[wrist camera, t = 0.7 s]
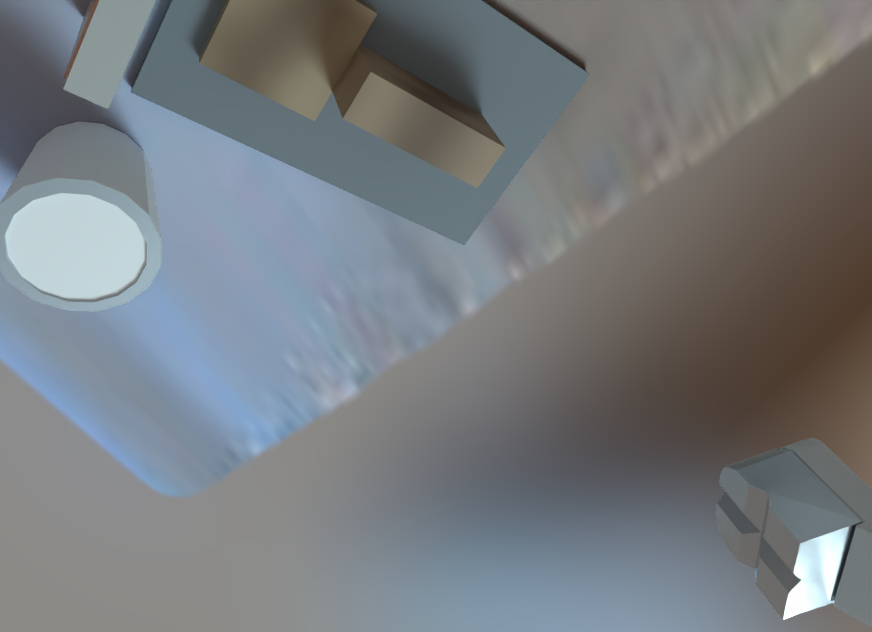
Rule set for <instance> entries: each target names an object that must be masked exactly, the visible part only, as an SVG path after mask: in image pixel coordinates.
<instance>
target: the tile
mask: <svg viewBox="0 0 872 632" xmlns="http://www.w3.org/2000/svg"><path fill="white" fill-rule="evenodd" d="M155 2H156V0H90V3H89V5H88V8H87V10H86V13H85V15H84V18H83V21H82V24H81V28H80V31H79V34H78V37H77V40H76V43H75V46H74V49H73V52H72V55H71V58H70V61H69V64H68V67H67V70H66V73H65V77H64V78H66V82H65V85H64V88H63V89H64V90H66V91H68V92H70V93H73V94H75V95H77V96H79V97H82V98H84V99H86V100H88V101H91V102H93V103H95V104H97V105H100V106H102V107H104V108H107V109H108V108H109V106H110V104H111V101H112V99H113V97H114V95H115V92H116V90H117V88H118V86H119V83H120V81H121V79H122V76H123V74H124V72H125V70H126V67H127V65H128V63H129V61H130V58H131V56H132V54H133V51H134V49H135V47H136V45H137V42H138V40H139V38H140V36H141V33H142V31H143V29H144V27H145V24H146V22H147V20H148V17H149V15H150V13H151V11H152V8H153V6H154V4H155Z"/></svg>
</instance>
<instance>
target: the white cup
mask: <svg viewBox="0 0 872 632" xmlns="http://www.w3.org/2000/svg"><path fill="white" fill-rule="evenodd" d="M161 247H162V240H161V232H160V225H159V217H158V210H157V203H156V195H155V188H154V181H153V173H152V168H151V166H150V164H149V162H148V160H147V158H146V155H145V153H144V151H143V150H142V149H141V148H140V147H139V146H138V145H137V144H136V143H135V142H134V141H133V140H132V139H131V138H130V137H129V136H128V135H127V134H125V133H122V132H120V131H118V130H116V129H114V128H111V127H109V126H107V125H105V124H100V123H90V122H81V121H78V122H74V123H70V124H66V125H62V126H58V127H55V128H54V129H52V130H51V131H50V132H49V133H47V134H46V135H45V136H43V137H42V138H41V139H40V140H38V142H37V143H36V145H35V147H34V148H33V150H32V152H31V153H30V155H29V157H28V158H27V160H26V162H25V163H24V165H23V166H22V168H21V170H20V171H19V173H18V175H17V176H16V178H15V180H14V181H13V183H12V185H11V186H10V188H9V189H8V191H7V193H6V194H5V196H4V198H3V199H2V201H1V203H0V271H1V273H2V274H3V276H4V277H5V279H6V280H7V282H8V283H10V284H11V285H13V286H14V287H15V288H17V289H18V290H20V291H21V292H23V293H24V294H25V295H27V296H28V297H30V298H31V299H33V300H34V301H37V302H40V303H43V304H46V305H50V306H53V307H56V308H59V309H62V310H65V311H101V310H105V309H108V308H112V307H115V306H119V305H123V304H126V303H128V302H129V301H131V300H132V299H133V298H135V297H136V296H138V295H139V294H140V293H142V292H143V291H145V290H146V289H147V288H149V286H150V284H151V283H152V281H153V279H154V277H155V276H156V274H157V272H158V270H159V269H160V267H161Z"/></svg>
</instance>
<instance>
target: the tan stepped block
mask: <svg viewBox="0 0 872 632" xmlns="http://www.w3.org/2000/svg"><path fill="white" fill-rule="evenodd" d="M376 15H377V13H376V11H375V10H374V8H372V7H370V6H369V5H367V4H366V3H364V2H362V1H361V0H226V2H225V5H224V7H223V9H222V11H221V13H220V15H219V17H218V19H217V21H216V23H215V25H214V27H213V29H212V31H211V34H210V36H209V38H208V40H207V42H206V44H205V46H204V48H203V50H202V52H201V54H200V56H199V64H201V65H203V66H205V67H207V68H209V69H211V70H213V71H215V72H217V73H219V74H221V75H223V76H225V77H227V78H229V79H231V80H233V81H235V82H237V83H239V84H241V85H243V86H245V87H247V88H249V89H251V90H253V91H255V92H257V93H259V94H261V95H263V96H265V97H267V98H269V99H271V100H273V101H275V102H277V103H279V104H281V105H283V106H285V107H287V108H289V109H291V110H293V111H295V112H297V113H299V114H301V115H303V116H305V117H307V118H309V119H311V120H313V121H316V119H317V117H318V115H319V114H320V112H321V110H322V109H323V107H324V105H325V103H326V102H327V100H328V98H329V96H330V95H331V93H332V92H333V95H334V97H335V100H336V103H337V105H338V108H339V111H340V113H341V116H342V119H344V120H346V121H348V122H350V123H352V124H354V125H356V126H357V127H359V128H361V129H363V130H365V131H367V132H369V133H371V134H373V135H375V136H377V137H379V138H381V139H383V140H385V141H387V142H389V143H390V144H392V145H394V146H396V147H398V148H400V149H402V150H404V151H406V152H408V153H410V154H412V155H414V156H416V157H418V158H420V159H422V160H424V161H425V162H427V163H429V164H431V165H433V166H435V167H437V168H439V169H441V170H443V171H445V172H447V173H449V174H451V175H453V176H455V177H457V178H458V179H460V180H462V181H464V182H466V183H468V184H470V185H472V186H474V187H476V188H478V187H479V185H480V184H481V183H482V181H483V180H484V178H485V177H486V176H487V174H488V173H489V172H490V170H491V169H492V167H493V166H494V165H495V163H496V162H497V160H498V159H499V158H500V156H501V155H502V153H503V152H504V151H505V149H506V147H505V146H504V145H503V143H502V142H501V140H500V139H499V138H498V136H497V135H496V133H495V132H494V131H493V129H492V128H491V126H490V125H489V124H488V122H487V121H486V119H485V118H484V117H483V115H481V114H480V113H478V112H476V111H474V110H473V109H471V108H469V107H468V106H466V105H464V104H462V103H461V102H459V101H457V100H456V99H454V98H452V97H450V96H449V95H447V94H445V93H444V92H442V91H440V90H438V89H437V88H435V87H433V86H432V85H430V84H428V83H426V82H425V81H423V80H421V79H419V78H418V77H416V76H414V75H413V74H411V73H409V72H407V71H406V70H404V69H402V68H401V67H399V66H397V65H395V64H394V63H392V62H390V61H389V60H387V59H385V58H383V57H382V56H380V55H378V54H377V53H375V52H373V51H371V50H370V49H368V48H366V47H365V46H363V45H361V44H360V43H361V41H362V39H363V38H364V36H365V34H366V32H367V31H368V29H369V27H370V26H371V24H372V22H373V20H374V19H375V17H376Z"/></svg>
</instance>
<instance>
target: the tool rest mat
mask: <svg viewBox="0 0 872 632" xmlns="http://www.w3.org/2000/svg"><path fill="white" fill-rule="evenodd" d="M361 1H362V2H364V3H366V4H367V5H369V6H370V7H372V8H374V10H375V11H376V13H377V15H376V17H375V19H374V20H373V22H372V24H371V26H370V27H369V29H368V31H367V32H366V34H365V36H364V38H363V39H362V41H361V43H360V44H361V45H363V46H365V47H366V48H368V49H370V50H371V51H373V52H375V53H377V54H378V55H380V56H382V57H383V58H385V59H387V60H389V61H390V62H392V63H394V64H395V65H397V66H399V67H401V68H402V69H404V70H406V71H407V72H409V73H411V74H413V75H414V76H416V77H418V78H419V79H421V80H423V81H425V82H426V83H428V84H430V85H432V86H433V87H435V88H437V89H438V90H440V91H442V92H444V93H445V94H447V95H449V96H450V97H452V98H454V99H456V100H457V101H459V102H461V103H462V104H464V105H466V106H468V107H469V108H471V109H473V110H474V111H476V112H478V113H480V114H481V115H483V117H484V118H485V119H486V121H487V122H488V124H489V125H490V126H491V128H492V129H493V131H494V132H495V133H496V135H497V136H498V138H499V139H500V140H501V142H502V143H503V145H504V146H505V147H506V149H505V151H504V152H503V153H502V155H501V156H500V158H499V159H498V160H497V162H496V163H495V165H494V166H493V167H492V169H491V170H490V172H489V173H488V174H487V176H486V177H485V178H484V180H483V181H482V183H481V184H480V185H479V187H478V188H476V187H474V186H472V185H470V184H468V183H466V182H464V181H462V180H460V179H458V178H457V177H455V176H453V175H451V174H449V173H447V172H445V171H443V170H441V169H439V168H437V167H435V166H433V165H431V164H429V163H427V162H425V161H424V160H422V159H420V158H418V157H416V156H414V155H412V154H410V153H408V152H406V151H404V150H402V149H400V148H398V147H396V146H394V145H392V144H390V143H389V142H387V141H385V140H383V139H381V138H379V137H377V136H375V135H373V134H371V133H369V132H367V131H365V130H363V129H361V128H359V127H357V126H356V125H354V124H352V123H350V122H348V121H346V120H344V119H342V116H341V113H340V111H339V108H338V105H337V103H336V100H335V97H334V95H333V92H332V93H331V95H330V96H329V98H328V100H327V102H326V103H325V105H324V107H323V109H322V110H321V112H320V114H319V115H318V117H317V119H316V121H313V120H311V119H309V118H307V117H305V116H303V115H301V114H299V113H297V112H295V111H293V110H291V109H289V108H287V107H285V106H283V105H281V104H279V103H277V102H275V101H273V100H271V99H269V98H267V97H265V96H263V95H261V94H259V93H257V92H255V91H253V90H251V89H249V88H247V87H245V86H243V85H241V84H239V83H237V82H235V81H233V80H231V79H229V78H227V77H225V76H223V75H221V74H219V73H217V72H215V71H213V70H211V69H209V68H207V67H205V66H203V65H201V64H199V56H200V54H201V52H202V50H203V48H204V46H205V44H206V42H207V40H208V38H209V36H210V34H211V31H212V29H213V27H214V25H215V23H216V21H217V19H218V17H219V15H220V13H221V11H222V9H223V7H224V5H225V2H226V0H171V2H170V4H169V6H168V8H167V10H166V13H165V15H164V17H163V19H162V22H161V24H160V26H159V28H158V30H157V33H156V35H155V37H154V39H153V42H152V44H151V46H150V48H149V50H148V53H147V55H146V57H145V59H144V62H143V64H142V66H141V68H140V70H139V73H138V75H137V77H136V79H135V82H134V84H133V86H132V89H131V93H134V94H136V95H138V96H140V97H142V98H145V99H147V100H149V101H151V102H153V103H155V104H158V105H160V106H162V107H164V108H166V109H169V110H171V111H173V112H175V113H177V114H179V115H182V116H184V117H186V118H188V119H190V120H193V121H195V122H197V123H199V124H201V125H203V126H206V127H208V128H210V129H212V130H214V131H216V132H219V133H221V134H223V135H225V136H227V137H230V138H232V139H234V140H236V141H238V142H240V143H243V144H245V145H247V146H249V147H251V148H254V149H256V150H258V151H260V152H262V153H264V154H267V155H269V156H271V157H273V158H275V159H278V160H280V161H282V162H284V163H286V164H288V165H291V166H293V167H295V168H297V169H299V170H301V171H304V172H306V173H308V174H310V175H312V176H315V177H317V178H319V179H321V180H323V181H325V182H328V183H330V184H332V185H334V186H336V187H339V188H341V189H343V190H345V191H347V192H349V193H352V194H354V195H356V196H358V197H360V198H363V199H365V200H367V201H369V202H371V203H373V204H376V205H378V206H380V207H382V208H384V209H387V210H389V211H391V212H393V213H395V214H397V215H400V216H402V217H404V218H406V219H408V220H410V221H413V222H415V223H417V224H419V225H421V226H424V227H426V228H428V229H430V230H432V231H434V232H437V233H439V234H441V235H443V236H445V237H448V238H450V239H452V240H454V241H456V242H458V243H461V244H463V245H465V244H466V242H467V241H468V239H469V238H470V237H471V235H472V234H473V233H474V231H475V230H476V229H477V227H478V226H479V224H480V223H481V222H482V220H483V219H484V218H485V216H486V215H487V214H488V212H489V211H490V209H491V208H492V207H493V205H494V204H495V203H496V201H497V200H498V199H499V197H500V196H501V195H502V193H503V192H504V190H505V189H506V188H507V186H508V185H509V184H510V182H511V181H512V180H513V178H514V177H515V175H516V174H517V173H518V171H519V170H520V169H521V167H522V166H523V165H524V163H525V162H526V160H527V159H528V158H529V156H530V155H531V154H532V152H533V151H534V150H535V148H536V147H537V146H538V144H539V143H540V141H541V140H542V139H543V137H544V136H545V135H546V133H547V132H548V131H549V129H550V128H551V126H552V125H553V124H554V122H555V121H556V120H557V118H558V117H559V116H560V114H561V113H562V111H563V110H564V109H565V107H566V106H567V105H568V103H569V102H570V101H571V99H572V98H573V97H574V95H575V94H576V92H577V91H578V90H579V88H580V87H581V86H582V84H583V83H584V82H585V80H586V79H587V77H588V76H589V75H590V74H589V73H588V72H587V71H585V70H584V69H582V68H581V67H580V66H578V65H577V64H575V63H574V62H572V61H571V60H569V59H568V58H566V57H565V56H563V55H562V54H561V53H559V52H558V51H556V50H555V49H553V48H552V47H550V46H549V45H547V44H546V43H544V42H543V41H542V40H540V39H539V38H537V37H536V36H534V35H533V34H531V33H530V32H528V31H527V30H526V29H524V28H523V27H521V26H520V25H518V24H517V23H515V22H514V21H512V20H511V19H509V18H508V17H507V16H505V15H504V14H502V13H501V12H499V11H498V10H496V9H495V8H493V7H492V6H490V5H489V4H488V3H486V2H485V1H483V0H361Z"/></svg>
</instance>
